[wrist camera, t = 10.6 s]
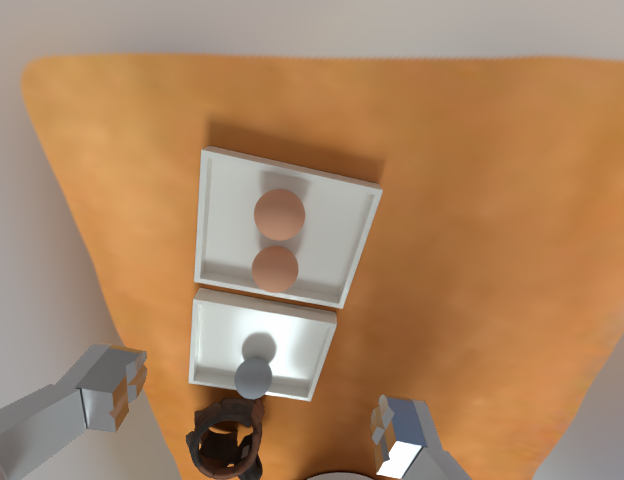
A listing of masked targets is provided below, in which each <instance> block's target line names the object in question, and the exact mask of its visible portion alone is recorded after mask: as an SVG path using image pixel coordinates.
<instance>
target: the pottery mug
mask: <svg viewBox="0 0 624 480" xmlns="http://www.w3.org/2000/svg"><path fill="white" fill-rule="evenodd" d="M264 412H265V411H264V405H263V403H262V402H261V401H260V399H259V398H257V399H256V400H255V401H254V400H253V399H247V398H224V399H222V401H221V403H219V402H215V403H213V404H211V405H210V406H209V407H207V408H206V409H204V410H202V411H196V412H195V429H194V431H191V432H190V433H189V434H188V435H186V443H187V445H188V447H189V451H190V454H191V457H192V461H193V463H194V465H195V466H196V467H197V468H198V470H199V471H200V472H201V473H202V474H204V475H205V476H207V477H209V478H213V479H216V480H225V479H226V480H227V479H231V478H233V477H236V476H238V477H239V479H240V480H260V478H261V476H262V472H263V471H262V464H261V461H260V458H259V456H258V450H259V446H260V443H261V437H262V424H261V419H262V417H263V415H264ZM226 420H233V421H238V422H240V423H242V424H244V425H245V426H246V427H247V428H249V427H250V424H252V426H253V433H251V434H250V435H247V436H245V437H244V438H243V440H242V442H241V443H240V445H239V446H238V445H237V442H238V441H237V431H236V432H232V433H228V434H221V433H215V432H212V431H210V429H209V427H211V426H212V425H213V424H215V423H218V422H220V421H226ZM199 442H200V444H201V448H200V450H199ZM229 464H234V466H231V467H227V466H228V465H229Z"/></svg>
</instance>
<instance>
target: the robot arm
mask: <svg viewBox="0 0 624 480" xmlns="http://www.w3.org/2000/svg"><path fill="white" fill-rule="evenodd" d="M146 359H147V355H146V351H141V350H137V349H132V348H127V347H122V346H118V345H113V344H107V343H102V342H97V343H95V344H93V345H92V346H91V347H90V348H89V349H88V350H87V351H86V352H85V353H84V355H82V356H81V358H80V359H79V360H78V361H77V362H76V363H75V364H74V365H73V366H72V367H71V368H70V369H69V371H68V372H67V373H66V374H65V375H64V376H63V377H62V378H61V379H60V380H59V381H58V383H57V384H56V385H52V384H50V385H47V386H46V387H44V388H41V389H39V390H37V391H35V392H33V393H31V394H29V395H27V396H25V397H24V398H21V399H19V400H17V401H15V402H14V403H11V404H9V405H7V406H5V407H3V408H1V409H0V480H21V479H22V478H23V477H25V476H26V475H27V474H28V473H30V472H31V471H33V470H34V469H35V468H37V467H38V466H39V465H41V464H42V463H43V462H45V461H46V460H48V459H49V458H50V457H52V456H53V455H54V454H56V453H57V452H58V451H59V450H61V449H62V448H64V447H65V446H66V445H68V444H69V443H70V442H72V441H73V440H74V439H76V438H77V437H78V436H80V435H81V434H82V433H84V432H85V431H86V429H92V430H100V431H108V432H116V431H117V430H118V428H119V426H120V425H121V423H122V422H123V420H124V418H125V417H126V415H127V413H128V412H129V408H128V403H130V402H132V401H133V400H134V399H136V398H137V397H138V395H139V393H140V392H141V390H142V388H143V385H144V383H145V380H146V375H147V368H146V367H145V365H144V362H145V361H146ZM378 401H379V406H378V407H376V408H374V410H373V412H372V415H371V421H370V432H371V438H372V440H373V441H374V442H375V444H376V445H377V446H376V448H375V450H374V458H375V464H376V471H377V474H379V475H384V476H389V477H394V478H400V479H402V480H472V479H471V478H470V477H469V475H468V474H467V473H466V472H465V471H464V470H463V468H462V467H461V466H460V465H459V464H458V463H457V461H456V460H455V459H454V458H453V457H452V456H451V455H450V453H449V452H448V451H444V450H443V448H442V445H441V442H440V439H439V436H438V434H437V431H436V428H435V425H434V422H433V420H432V417H431V414H430V411H429V408H428V406H427V404H426V403H425V401H420V400H414V399H409V398H405V397H399V396H393V395H387V394H383V395H381V396H380V398H379V400H378ZM307 480H373V479H371V478H369V477H366V476H363V475H359V474H353V473H327V474H322V475H318V476H314V477H312V478H309V479H307Z"/></svg>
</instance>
